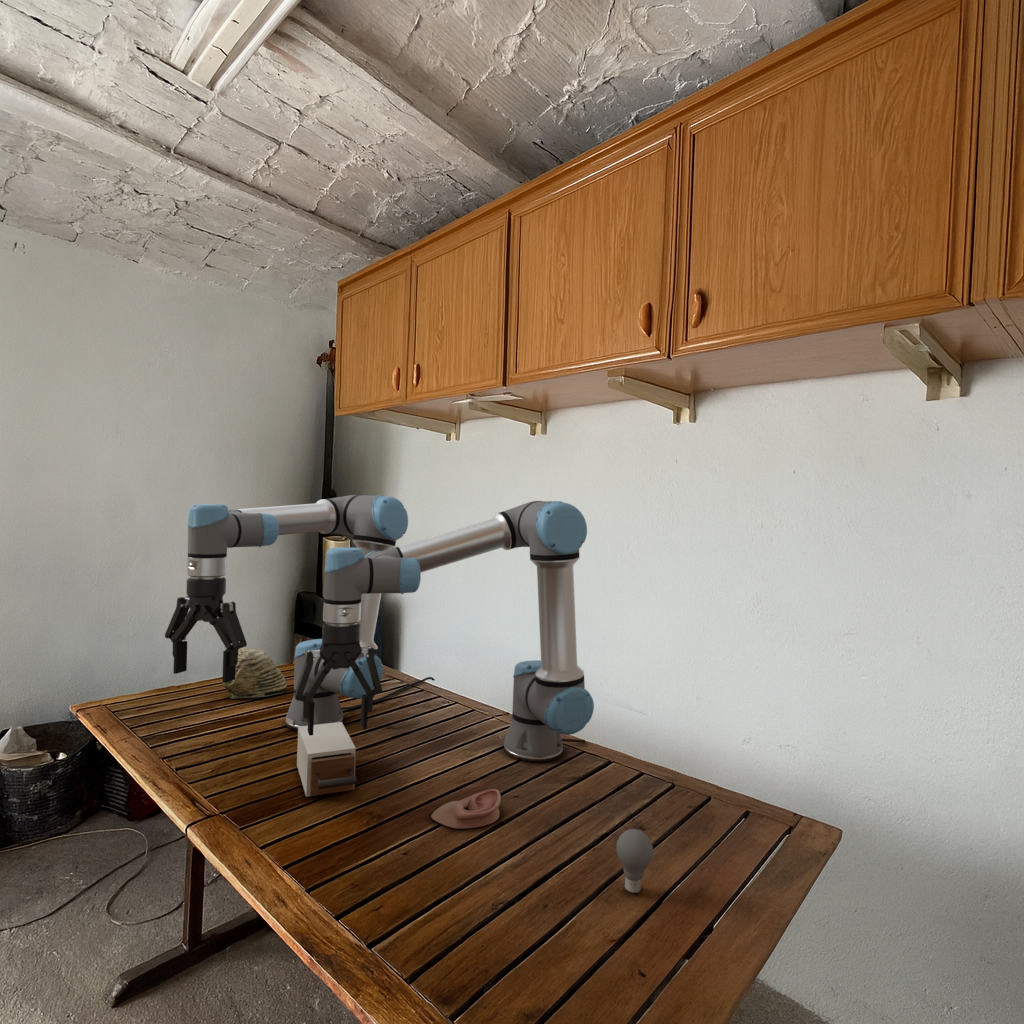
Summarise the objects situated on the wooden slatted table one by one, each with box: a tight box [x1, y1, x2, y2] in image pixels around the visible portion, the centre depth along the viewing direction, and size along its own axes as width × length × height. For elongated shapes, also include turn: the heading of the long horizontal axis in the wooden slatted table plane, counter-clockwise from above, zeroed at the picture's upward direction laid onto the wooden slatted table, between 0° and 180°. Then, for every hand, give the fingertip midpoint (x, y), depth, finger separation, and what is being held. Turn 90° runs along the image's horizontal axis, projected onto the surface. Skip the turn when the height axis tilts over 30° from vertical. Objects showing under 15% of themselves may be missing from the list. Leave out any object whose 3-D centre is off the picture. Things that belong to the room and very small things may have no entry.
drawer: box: [309, 753, 357, 797], centre depth 138 cm, size 22×9×7 cm, turn 25°
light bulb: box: [615, 828, 654, 894], centre depth 106 cm, size 6×6×10 cm
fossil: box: [222, 646, 288, 699], centre depth 198 cm, size 9×18×15 cm, turn 132°
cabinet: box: [296, 722, 357, 798], centre depth 143 cm, size 17×10×9 cm, turn 25°
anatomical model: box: [430, 788, 502, 830], centre depth 128 cm, size 13×4×12 cm
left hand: (204, 676), depth 134 cm, fingers open, 13 cm apart
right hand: (337, 730), depth 131 cm, fingers open, 10 cm apart
